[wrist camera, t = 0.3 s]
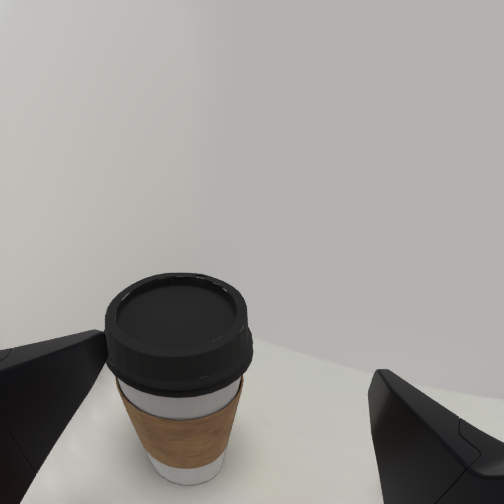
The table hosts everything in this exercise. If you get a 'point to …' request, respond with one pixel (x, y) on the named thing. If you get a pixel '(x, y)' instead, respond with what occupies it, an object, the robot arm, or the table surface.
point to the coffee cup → (180, 368)
